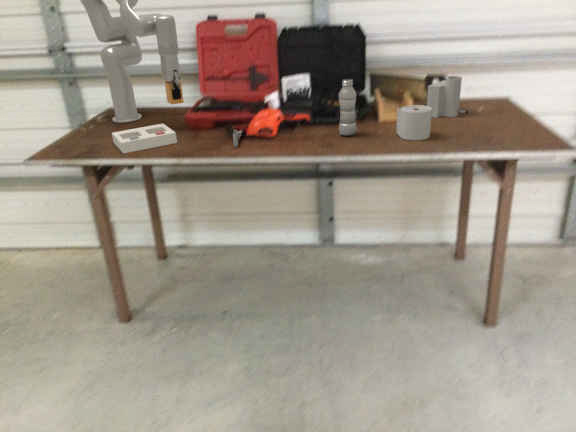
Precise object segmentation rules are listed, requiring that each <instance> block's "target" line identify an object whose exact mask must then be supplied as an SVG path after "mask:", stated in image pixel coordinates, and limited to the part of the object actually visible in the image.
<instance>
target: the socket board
mask: <svg viewBox="0 0 576 432" xmlns="http://www.w3.org/2000/svg"><path fill="white" fill-rule="evenodd" d="M111 137H112V140H113V144H114V145H115V146H116V148H118V150H119V151H120V152H121V153H122V154H129V153H135V152H139V151H140V152H141V151H144V150H148V149H153V148H159V147H163V146H168V145H173V144H178V140H177V139H178V137H177V133H176V132H175V131H174V130H173V129H172V128H170V127H168V126H167V125H166V124H164V123H163V122H162V123H158V124H152V125H147V126H143V127H142V126H141V127H136V128H132V129H130V128H129V129H125V130H121V131H114V132H111Z"/></svg>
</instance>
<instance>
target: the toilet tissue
mask: <svg viewBox="0 0 576 432" xmlns="http://www.w3.org/2000/svg"><path fill="white" fill-rule="evenodd" d="M431 112H432V108H431V107H428V106H427V105H424V104H420V105H419V104H413V105H411V104H410V105H404V106H401V107H400V108H399V107H398V106H396V132H395V133H396V134H397V135H398V136H399V138H401V139H403V140H406V141H423V140H427V139H430V136H431V126H432V125H431V123H432V117H431Z"/></svg>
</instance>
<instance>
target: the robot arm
mask: <svg viewBox="0 0 576 432" xmlns="http://www.w3.org/2000/svg"><path fill="white" fill-rule="evenodd" d="M79 1H80V2H81V4H82V6H83V7H84V9H85V11H86V13H87V16H88V18H89V22H90V23H91V26H92V29H93V31H94V34H95V37H96V38H97V40H98V41H99V42H100V43H104V44H107V43H108V44H109V43H114V42H115V43H116V42H121V43H116V44H115V43H114V44H110V45H107V46H105V47H103V48H102V49H101V51H100V59H101V63H102V65H103V68H104V70H105V73H106V77H107V81H108V86H109V90H110V95H111V100H112V101H111V102H112V106H113V110H114V116H113V117H112V122H113V123H120V124H123V123H124V124H125V123H132V122H135V121H138V120H141V119H142V117H143V115H142V114H141V113H138V109H137V102H136V98H135V93H134V88H133V81H132V78H131V76H130V73H128V71H127V70H126V69H125V68H126V67H130V66H135V65H139V64H140V63H141V62H142V58H143V54H142V49H141V46H140V44H139V41H138V38H137V37H139V38H143V37H144V38H145V37H150V36H151V37H152V36H156V42H157V43H156V44H157V49H158V56H160V57H159V58H160V69H161V71H160V72H161V78H162V79H163V80H165V82H167V81H168V82H171V84H172V96H173V99H174V100H176V99H181V92H180V82H181V79H182V75H181V68H180V63H179V57H178V55H179V54H180V50H179V49H180V48H179V43H178V35H177V25H176V19H175V17H174V16H173V15H170V14H161V13H148V14H140V15H139V14H138V15H137V13H135V12H134V10H133V8H135V7H136V5H137V4H138V2H139V0H115V2H117V4H118V5H119V14H120V16H112V15H111V13H110V10H109V8H108V5H107V4H106V2H104V1H103V0H79ZM174 80H175V81H174Z"/></svg>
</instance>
